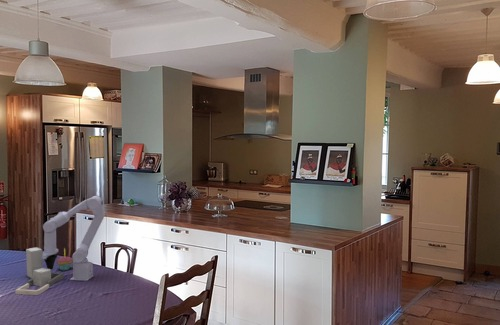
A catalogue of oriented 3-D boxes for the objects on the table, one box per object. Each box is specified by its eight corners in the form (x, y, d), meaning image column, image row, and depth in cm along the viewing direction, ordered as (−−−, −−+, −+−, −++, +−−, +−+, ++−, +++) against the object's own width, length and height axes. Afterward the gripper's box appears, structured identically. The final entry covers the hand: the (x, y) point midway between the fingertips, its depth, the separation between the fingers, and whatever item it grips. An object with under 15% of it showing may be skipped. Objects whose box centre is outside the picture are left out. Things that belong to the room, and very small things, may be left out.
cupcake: (56, 268, 253) (56, 247, 252) (72, 266, 256) (72, 245, 256) (56, 272, 245) (56, 250, 244) (73, 270, 249) (73, 249, 248)
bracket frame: (49, 288, 218) (48, 284, 218) (37, 295, 208) (37, 291, 208) (27, 287, 219) (27, 283, 219) (15, 294, 209) (15, 290, 209)
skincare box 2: (43, 281, 228) (43, 267, 228) (51, 283, 225) (51, 269, 225) (32, 284, 223) (32, 270, 223) (40, 287, 220) (40, 272, 220)
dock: (63, 277, 235) (63, 273, 235) (48, 287, 220) (48, 282, 220) (43, 277, 236) (43, 272, 235) (27, 286, 221) (27, 281, 220)
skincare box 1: (43, 277, 235) (43, 249, 235) (31, 279, 231) (31, 251, 231) (37, 273, 241) (37, 246, 241) (25, 275, 237) (25, 248, 237)
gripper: (49, 240, 239) (49, 265, 239) (35, 246, 224) (35, 273, 225) (62, 240, 238) (62, 265, 239) (49, 246, 224) (49, 273, 225)
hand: (50, 269), depth 232 cm, fingers closed
